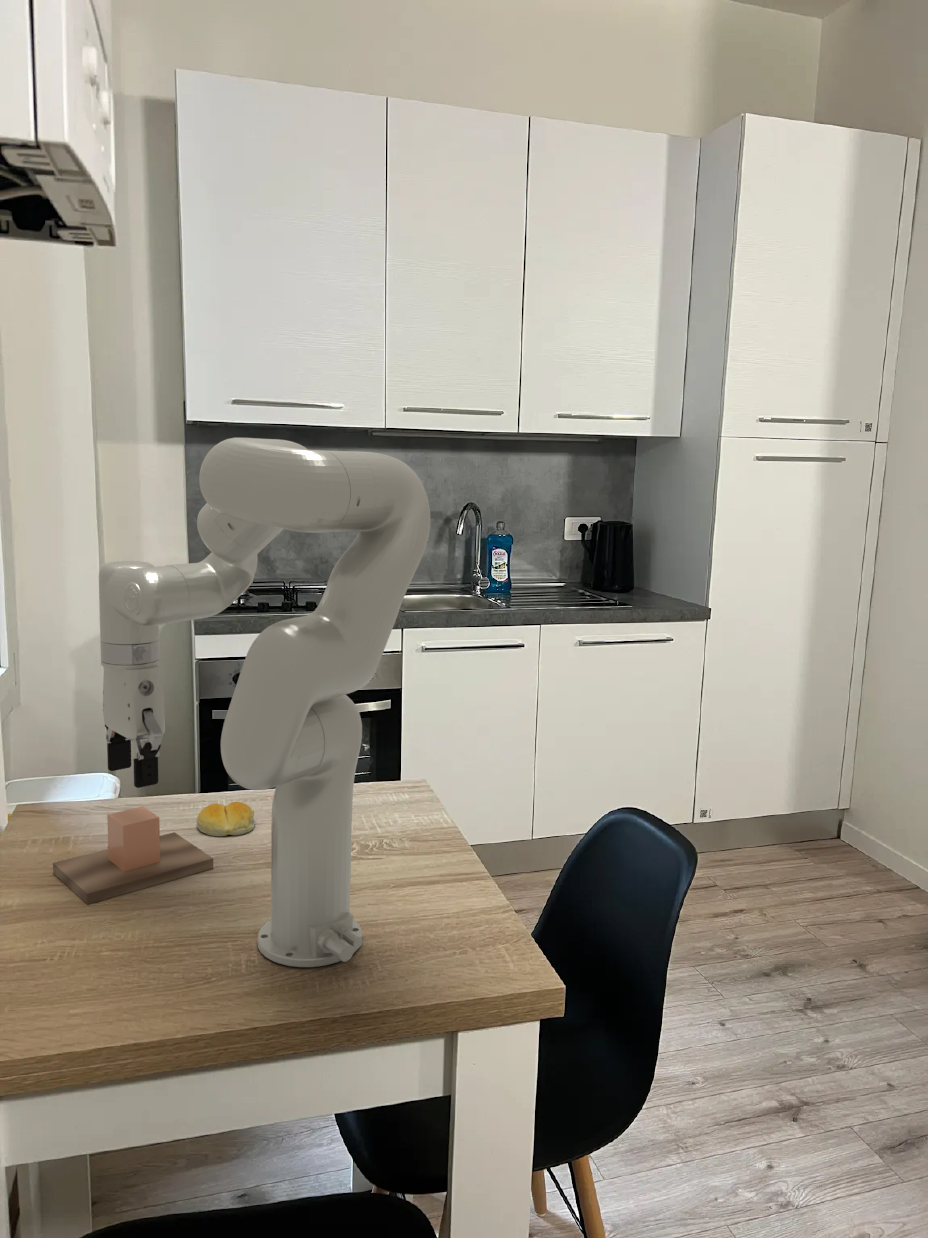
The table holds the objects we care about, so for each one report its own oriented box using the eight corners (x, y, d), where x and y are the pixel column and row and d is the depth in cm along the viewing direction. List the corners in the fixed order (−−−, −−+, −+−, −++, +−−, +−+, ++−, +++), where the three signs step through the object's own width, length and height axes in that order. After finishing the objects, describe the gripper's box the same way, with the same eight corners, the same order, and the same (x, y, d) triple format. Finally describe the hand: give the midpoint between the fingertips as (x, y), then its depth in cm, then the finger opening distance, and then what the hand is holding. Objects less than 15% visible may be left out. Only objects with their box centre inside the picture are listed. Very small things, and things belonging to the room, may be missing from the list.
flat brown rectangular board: (213, 868, 136) (213, 821, 135) (87, 904, 124) (85, 853, 123) (174, 841, 144) (174, 797, 143) (53, 873, 132) (51, 825, 131)
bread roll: (197, 820, 154) (197, 796, 153) (254, 817, 156) (254, 794, 155) (194, 840, 146) (194, 815, 145) (254, 837, 148) (254, 813, 147)
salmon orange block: (160, 862, 134) (159, 817, 133) (123, 871, 130) (123, 825, 129) (143, 850, 137) (143, 806, 136) (108, 859, 134) (107, 814, 133)
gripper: (186, 661, 125) (187, 789, 128) (129, 639, 138) (131, 756, 141) (130, 668, 120) (133, 800, 123) (77, 645, 133) (80, 766, 135)
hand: (132, 776), depth 132 cm, fingers open, 7 cm apart
